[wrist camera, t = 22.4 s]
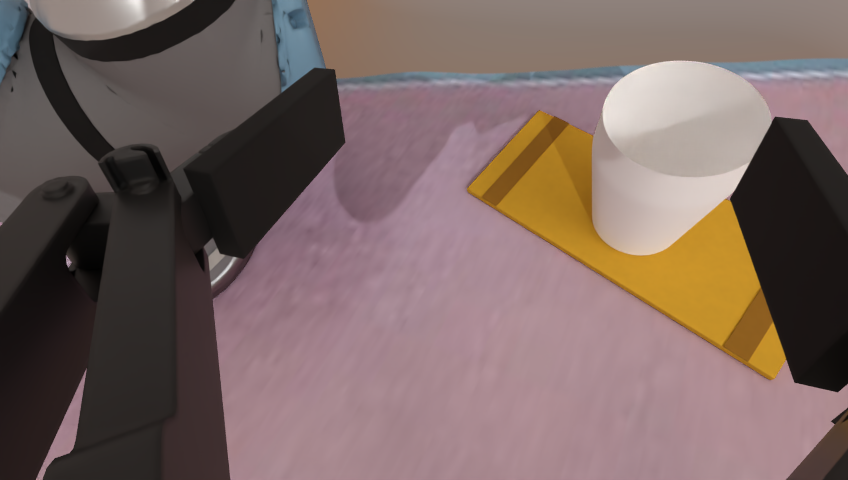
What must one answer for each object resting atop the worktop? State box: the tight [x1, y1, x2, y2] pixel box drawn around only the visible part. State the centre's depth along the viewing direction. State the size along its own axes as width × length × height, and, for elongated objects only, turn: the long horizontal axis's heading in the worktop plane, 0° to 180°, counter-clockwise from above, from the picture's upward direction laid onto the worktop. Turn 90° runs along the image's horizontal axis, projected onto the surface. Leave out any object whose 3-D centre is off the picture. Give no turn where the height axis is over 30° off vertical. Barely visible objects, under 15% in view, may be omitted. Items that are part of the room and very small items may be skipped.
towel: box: [467, 110, 786, 380], centre depth 36 cm, size 26×11×1 cm, turn 48°
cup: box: [592, 61, 772, 255], centre depth 31 cm, size 9×9×12 cm
